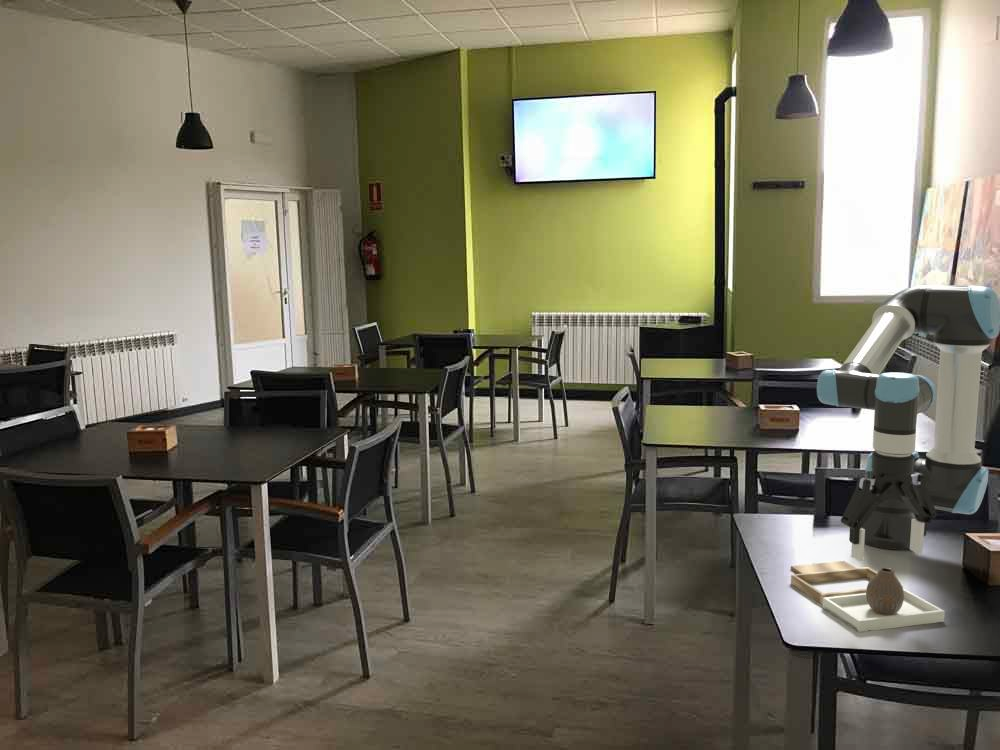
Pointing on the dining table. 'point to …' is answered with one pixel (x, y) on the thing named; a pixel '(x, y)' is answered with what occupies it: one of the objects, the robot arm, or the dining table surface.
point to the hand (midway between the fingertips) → (886, 555)
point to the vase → (885, 593)
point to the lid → (821, 567)
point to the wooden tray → (805, 578)
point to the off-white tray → (864, 618)
